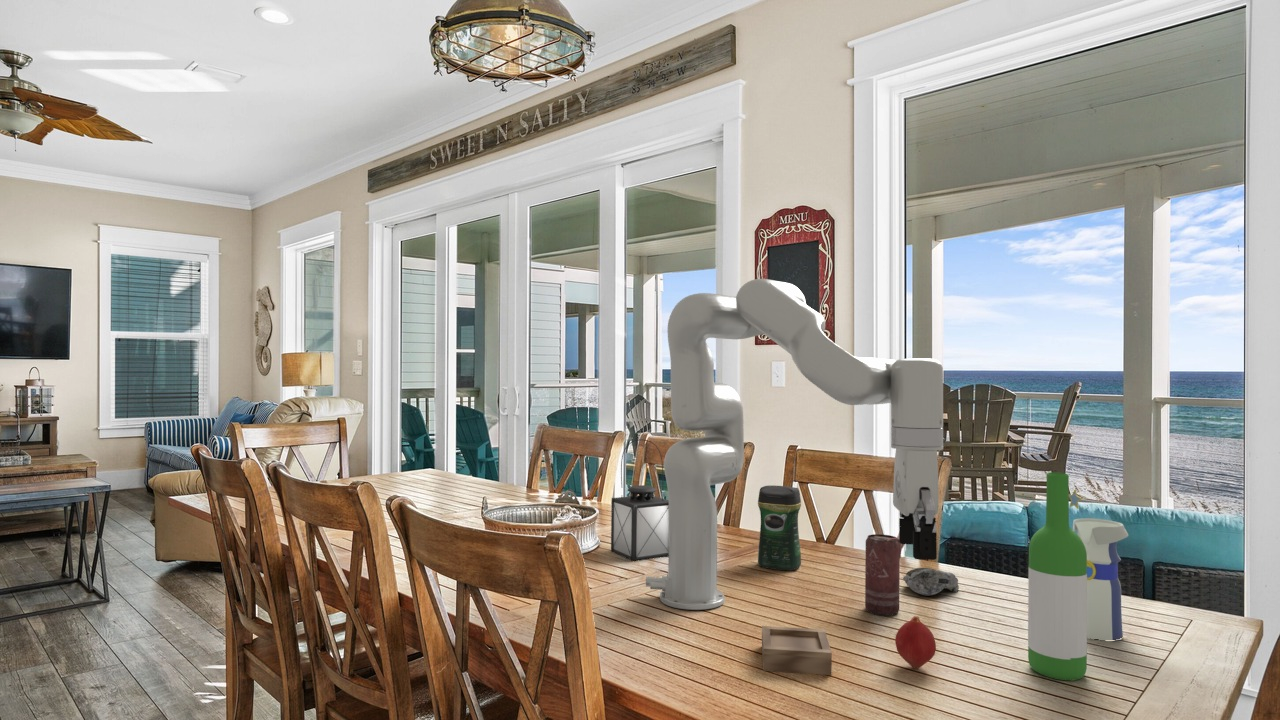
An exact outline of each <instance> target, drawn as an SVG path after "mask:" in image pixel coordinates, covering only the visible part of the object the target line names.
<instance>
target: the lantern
mask: <svg viewBox="0 0 1280 720" xmlns="http://www.w3.org/2000/svg"><path fill="white" fill-rule="evenodd" d="M637 441H646V442H648V443H651V444H652V445H654V446H655V448H656V449H657V450H658V453H659V455H660V460H661V471H662V473H661V474H662V476H661V478H662V481H661V483H662V485H664V461H663V458H662V453H661V451H660V448H658V446H657V445H656V444H655V443H654V442H652V441H651V440H648V439H635V440H633V441H631V442H629V443H628V444H627V445H626V446H625V447H624V450H623V452H622V454H621V455H622V456H621V460H620V483H621V487H623V458H624V454H625V451H626V449H627V448H628V446H629V445H631V444H632V443H634V442H637ZM662 490H664V487H662ZM627 491H628V492H630V493H629V494H630V495H629V496H621V497H619V496H618V497H611V511H610V512H611V515H610V516H611V517H610V519H611V523H610V525H611V527H610V531H611V532H610V552H611V553H614V554H617V555H618V556H620V557H623V558H625V559H628V560H630V561H631V562H633V561H634V562H637V561H638V560H639V561H645V560H651V559H653V558H654V559H659V558H660V557H661V558H667V557H668V551H669V500H668V499H666V498H663V497H662V498H661V497H658V496H654V493H655V492H656V491H657V489H656V488H655V487H653V486H651V485H632V486H630V487H629V488H627Z"/></svg>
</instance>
